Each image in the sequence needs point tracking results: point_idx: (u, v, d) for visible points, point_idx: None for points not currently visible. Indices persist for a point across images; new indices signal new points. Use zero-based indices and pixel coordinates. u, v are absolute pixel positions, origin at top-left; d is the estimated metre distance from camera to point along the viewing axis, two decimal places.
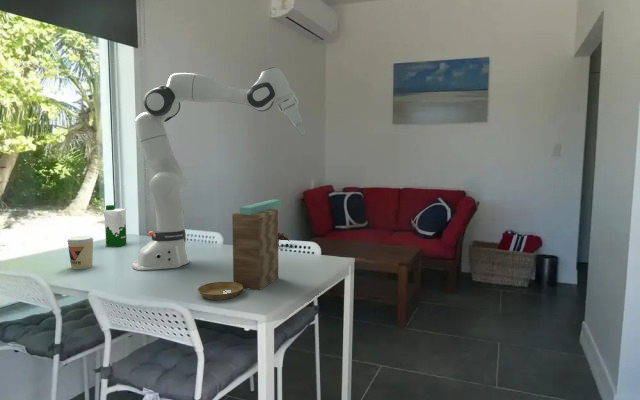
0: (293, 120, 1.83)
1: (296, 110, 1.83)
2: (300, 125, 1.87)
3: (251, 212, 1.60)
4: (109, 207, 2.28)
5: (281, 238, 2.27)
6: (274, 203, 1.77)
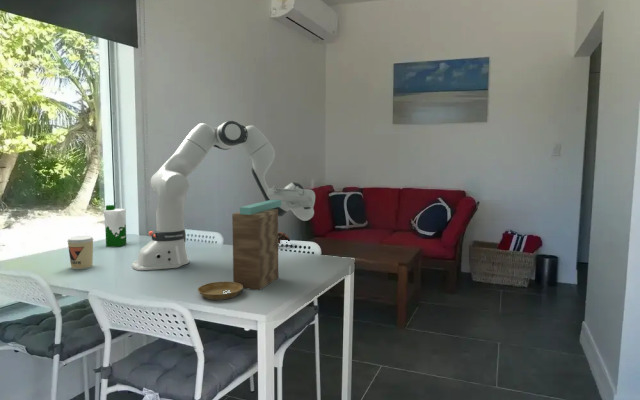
0: (313, 192, 1.95)
1: (313, 201, 1.96)
2: (302, 192, 1.93)
3: (251, 212, 1.60)
4: (109, 207, 2.28)
5: (282, 238, 2.27)
6: (274, 203, 1.77)
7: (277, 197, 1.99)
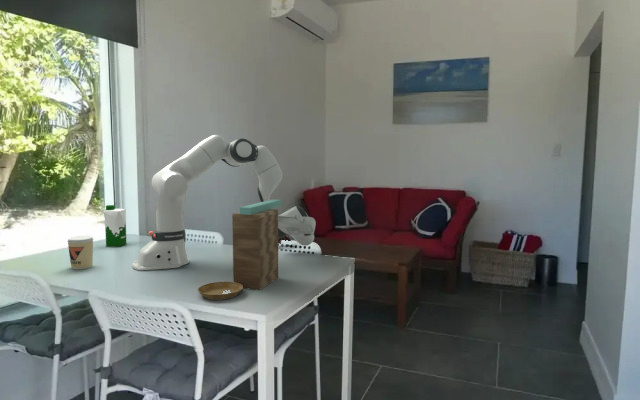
0: (313, 219, 1.95)
1: (313, 228, 1.97)
2: (302, 220, 1.93)
3: (251, 212, 1.60)
4: (109, 207, 2.28)
5: (283, 238, 2.27)
6: (274, 203, 1.77)
7: None
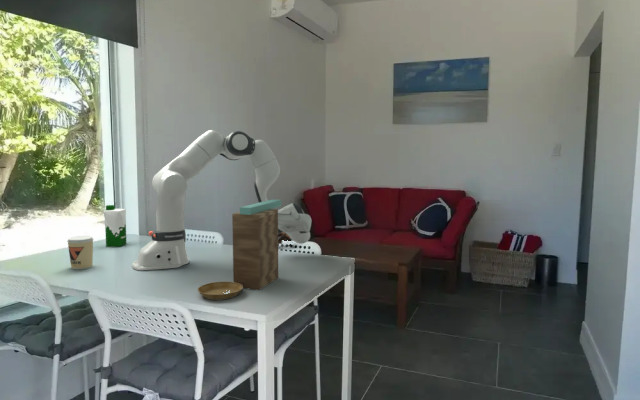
0: (309, 216, 1.91)
1: (309, 225, 1.92)
2: (298, 217, 1.89)
3: (251, 212, 1.60)
4: (109, 207, 2.28)
5: (284, 238, 2.26)
6: (274, 203, 1.77)
7: None
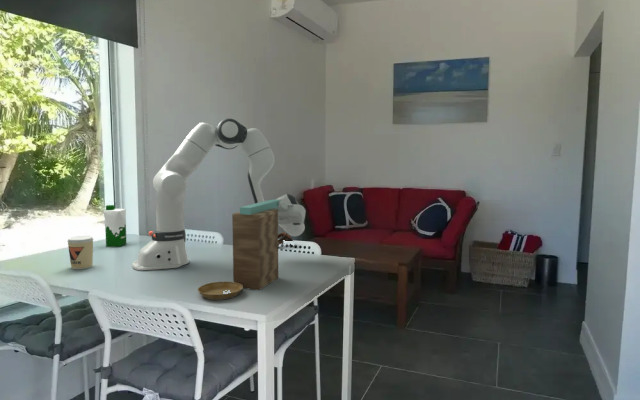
0: (302, 207, 1.83)
1: (302, 216, 1.85)
2: (286, 207, 1.82)
3: (251, 212, 1.60)
4: (109, 207, 2.28)
5: (285, 238, 2.26)
6: (274, 203, 1.77)
7: None
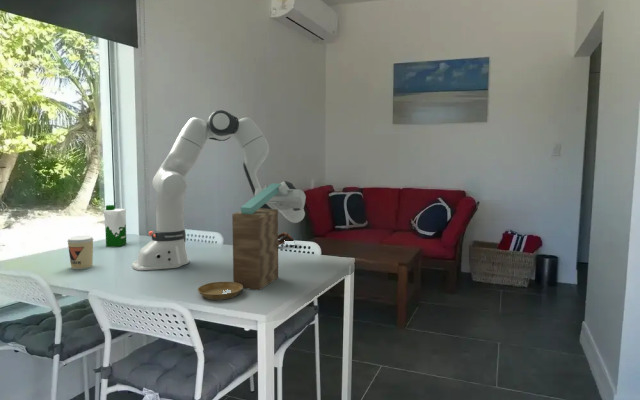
0: (302, 192, 1.83)
1: (302, 202, 1.84)
2: (286, 192, 1.81)
3: (252, 211, 1.61)
4: (109, 207, 2.28)
5: (286, 239, 2.26)
6: (274, 190, 1.77)
7: None
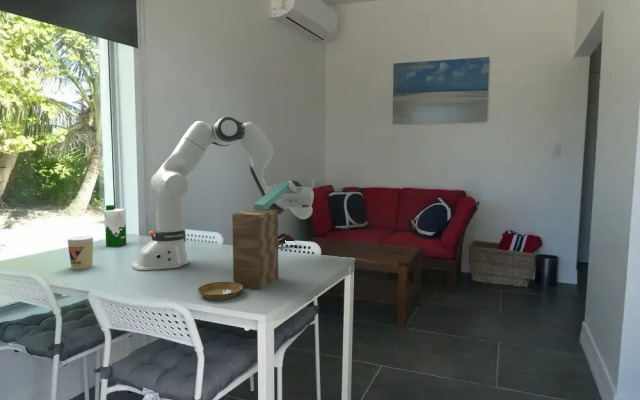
0: (311, 189, 1.92)
1: (311, 199, 1.93)
2: (295, 189, 1.90)
3: (265, 208, 1.69)
4: (109, 207, 2.28)
5: (287, 239, 2.26)
6: (284, 188, 1.86)
7: None
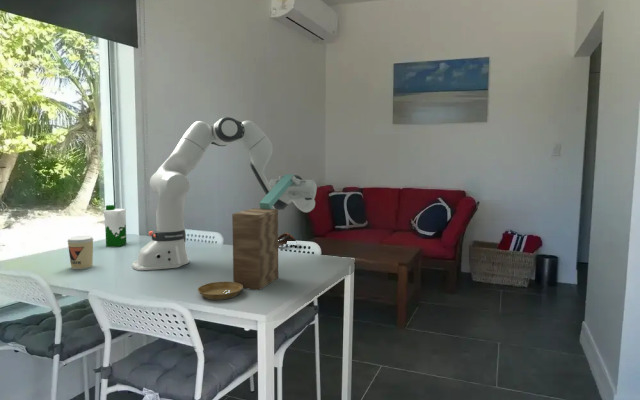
0: (314, 182, 1.95)
1: (314, 191, 1.97)
2: (299, 182, 1.94)
3: (270, 206, 1.74)
4: (109, 207, 2.28)
5: (289, 239, 2.25)
6: (288, 182, 1.89)
7: None
